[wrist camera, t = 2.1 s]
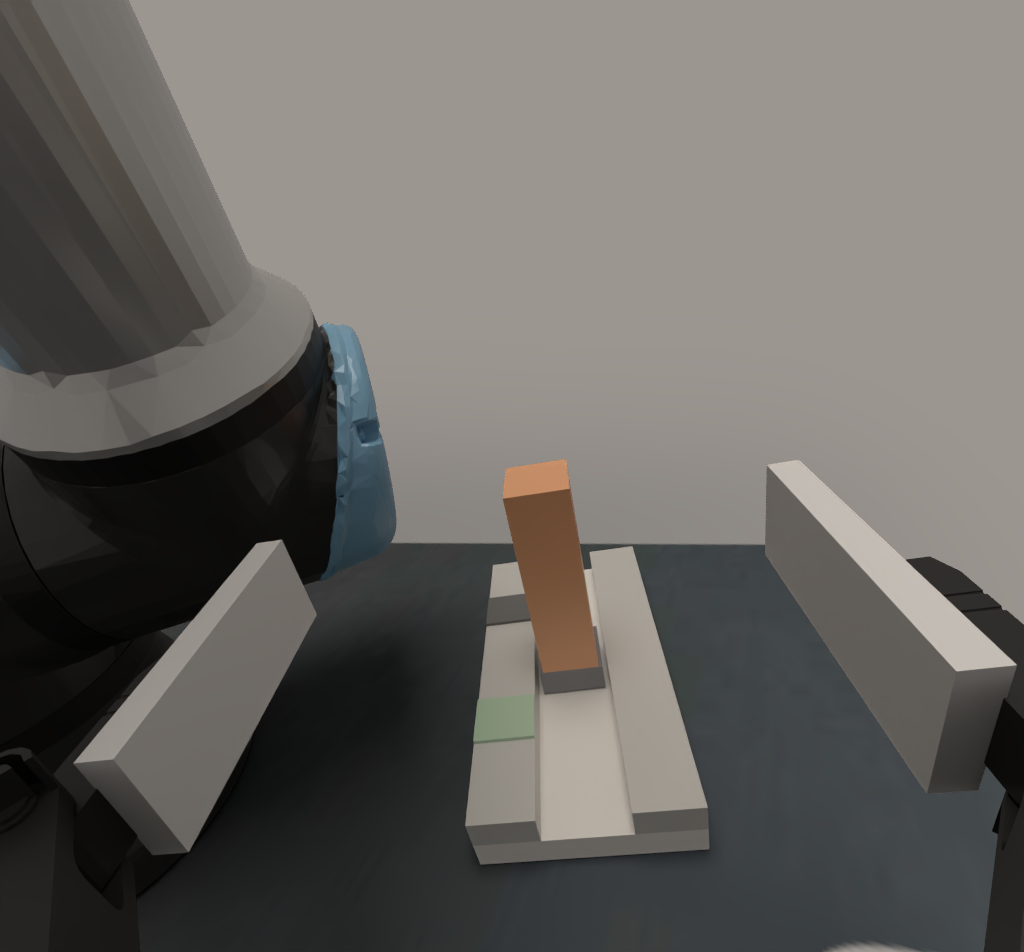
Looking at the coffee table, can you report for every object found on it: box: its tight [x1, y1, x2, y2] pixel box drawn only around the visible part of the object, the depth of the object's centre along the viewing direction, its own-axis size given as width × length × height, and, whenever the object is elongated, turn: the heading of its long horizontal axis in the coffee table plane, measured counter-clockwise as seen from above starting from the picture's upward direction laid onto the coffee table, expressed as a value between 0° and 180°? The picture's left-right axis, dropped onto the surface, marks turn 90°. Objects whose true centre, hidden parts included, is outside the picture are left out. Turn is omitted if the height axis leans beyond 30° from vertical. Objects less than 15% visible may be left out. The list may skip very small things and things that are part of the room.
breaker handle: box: [503, 459, 606, 694], centre depth 27 cm, size 3×3×13 cm
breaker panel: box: [465, 546, 709, 865], centre depth 30 cm, size 18×10×3 cm, turn 178°
